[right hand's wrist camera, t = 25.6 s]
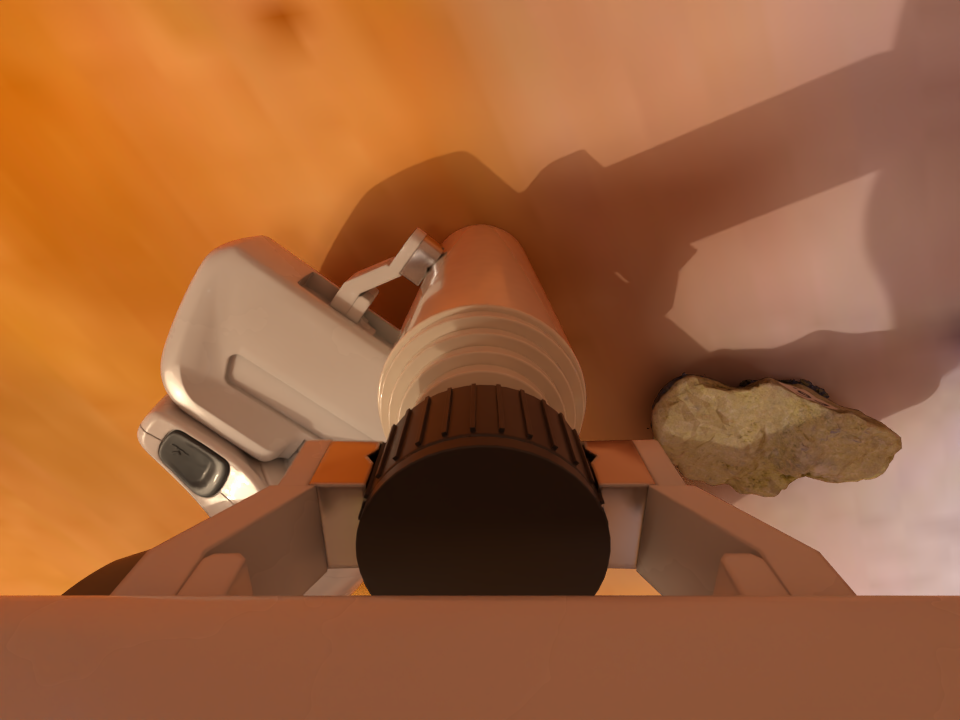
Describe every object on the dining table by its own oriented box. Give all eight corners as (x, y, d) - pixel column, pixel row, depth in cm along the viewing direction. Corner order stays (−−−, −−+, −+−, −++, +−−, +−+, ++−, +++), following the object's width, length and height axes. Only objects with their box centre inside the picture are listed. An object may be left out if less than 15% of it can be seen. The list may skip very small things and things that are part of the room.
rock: (621, 394, 31) (705, 516, 33) (646, 432, 25) (747, 580, 27) (782, 294, 29) (864, 429, 31) (852, 309, 23) (949, 477, 25)
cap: (414, 349, 9) (395, 404, 7) (623, 421, 10) (662, 491, 8) (353, 525, 11) (323, 614, 9) (538, 579, 11) (552, 674, 9)
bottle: (416, 244, 27) (271, 442, 8) (511, 209, 27) (592, 336, 8) (452, 334, 29) (400, 663, 10) (542, 303, 28) (667, 594, 9)
